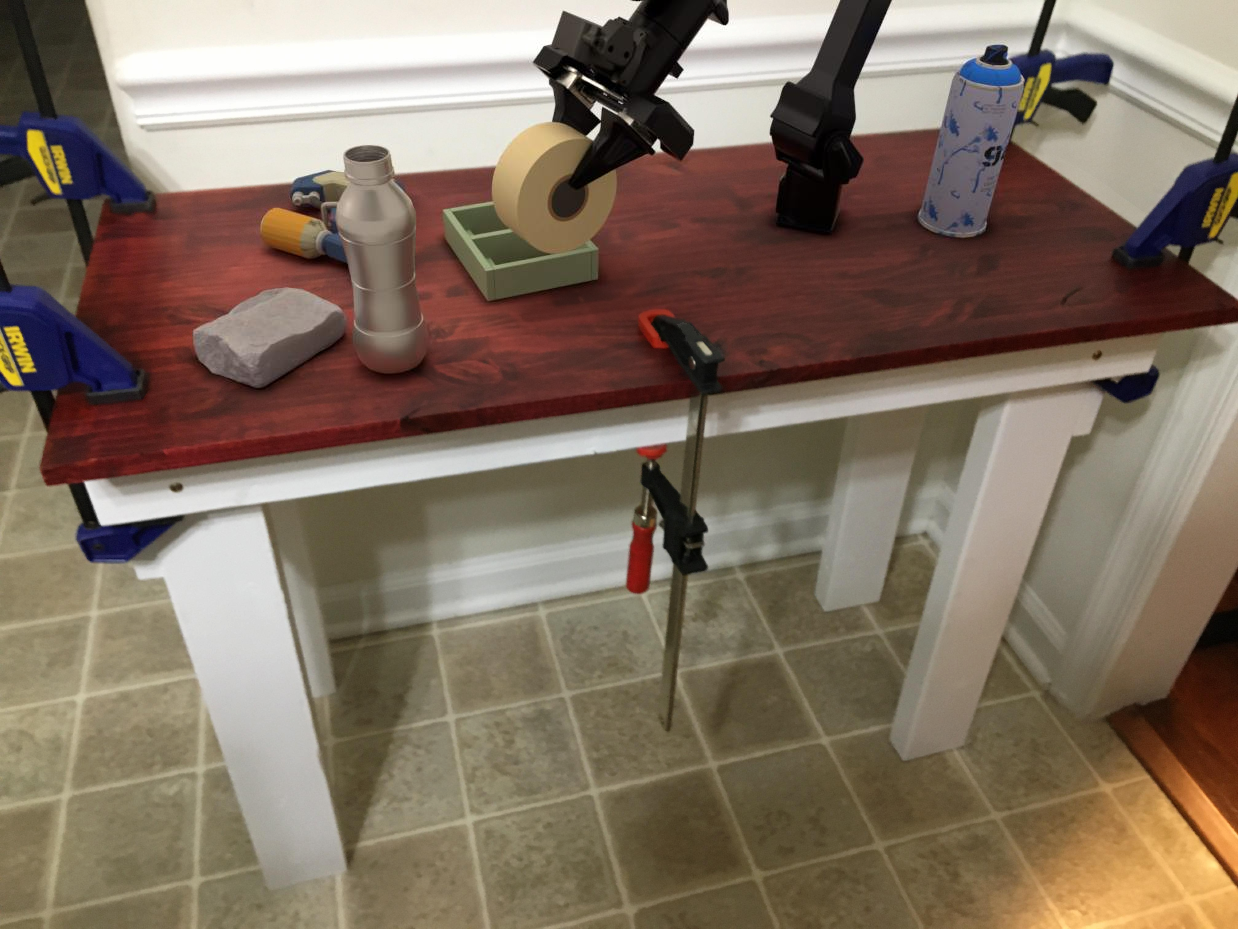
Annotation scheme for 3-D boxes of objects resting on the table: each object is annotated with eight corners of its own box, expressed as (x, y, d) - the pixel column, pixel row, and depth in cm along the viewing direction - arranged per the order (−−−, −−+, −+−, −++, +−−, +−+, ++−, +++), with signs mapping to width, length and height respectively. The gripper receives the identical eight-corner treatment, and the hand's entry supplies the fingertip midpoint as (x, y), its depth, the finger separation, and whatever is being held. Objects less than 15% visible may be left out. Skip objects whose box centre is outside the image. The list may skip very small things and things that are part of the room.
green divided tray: (547, 220, 116) (547, 191, 114) (598, 279, 106) (598, 249, 104) (444, 238, 112) (442, 209, 109) (487, 301, 102) (485, 270, 100)
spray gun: (255, 282, 103) (405, 278, 105) (247, 243, 100) (401, 240, 102) (279, 197, 119) (408, 195, 121) (273, 162, 116) (405, 160, 118)
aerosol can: (960, 244, 115) (1009, 64, 102) (904, 218, 119) (944, 43, 106) (999, 224, 119) (1051, 49, 106) (943, 200, 123) (986, 30, 110)
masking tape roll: (590, 216, 101) (588, 109, 94) (617, 235, 99) (617, 125, 91) (495, 248, 97) (486, 137, 89) (521, 268, 94) (513, 155, 87)
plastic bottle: (361, 344, 95) (328, 137, 82) (433, 342, 96) (412, 137, 83) (353, 383, 90) (316, 170, 77) (429, 382, 91) (406, 170, 78)
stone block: (191, 377, 93) (262, 394, 88) (172, 329, 91) (245, 345, 86) (288, 324, 101) (359, 338, 96) (274, 279, 99) (345, 291, 94)
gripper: (548, -51, 91) (449, 95, 93) (676, 3, 79) (560, 168, 81) (617, 26, 99) (525, 158, 102) (741, 85, 88) (635, 232, 90)
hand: (557, 177), depth 93 cm, fingers closed on masking tape roll, 5 cm apart
